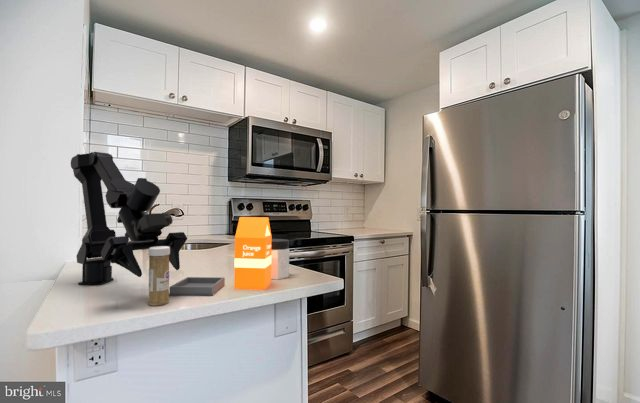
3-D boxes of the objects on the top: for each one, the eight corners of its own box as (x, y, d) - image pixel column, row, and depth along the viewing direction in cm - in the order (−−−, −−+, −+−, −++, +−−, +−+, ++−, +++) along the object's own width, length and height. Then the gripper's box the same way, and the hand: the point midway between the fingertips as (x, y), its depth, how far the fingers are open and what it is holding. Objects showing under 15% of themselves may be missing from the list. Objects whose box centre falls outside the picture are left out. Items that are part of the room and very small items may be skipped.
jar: (272, 281, 99) (272, 242, 99) (257, 276, 105) (258, 240, 105) (294, 276, 105) (294, 240, 105) (279, 272, 111) (280, 238, 111)
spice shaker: (166, 305, 74) (167, 247, 75) (145, 306, 73) (146, 248, 74) (171, 299, 79) (172, 245, 79) (151, 301, 78) (151, 245, 78)
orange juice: (242, 282, 98) (243, 216, 98) (271, 283, 97) (272, 216, 97) (233, 288, 90) (234, 217, 90) (264, 290, 89) (265, 218, 89)
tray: (169, 295, 83) (169, 286, 83) (187, 284, 94) (187, 277, 94) (212, 295, 83) (212, 287, 83) (224, 285, 94) (224, 277, 94)
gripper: (107, 201, 71) (131, 255, 65) (183, 202, 87) (209, 246, 81) (91, 234, 76) (113, 288, 69) (166, 229, 91) (189, 273, 85)
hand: (160, 272), depth 76 cm, fingers open, 9 cm apart
